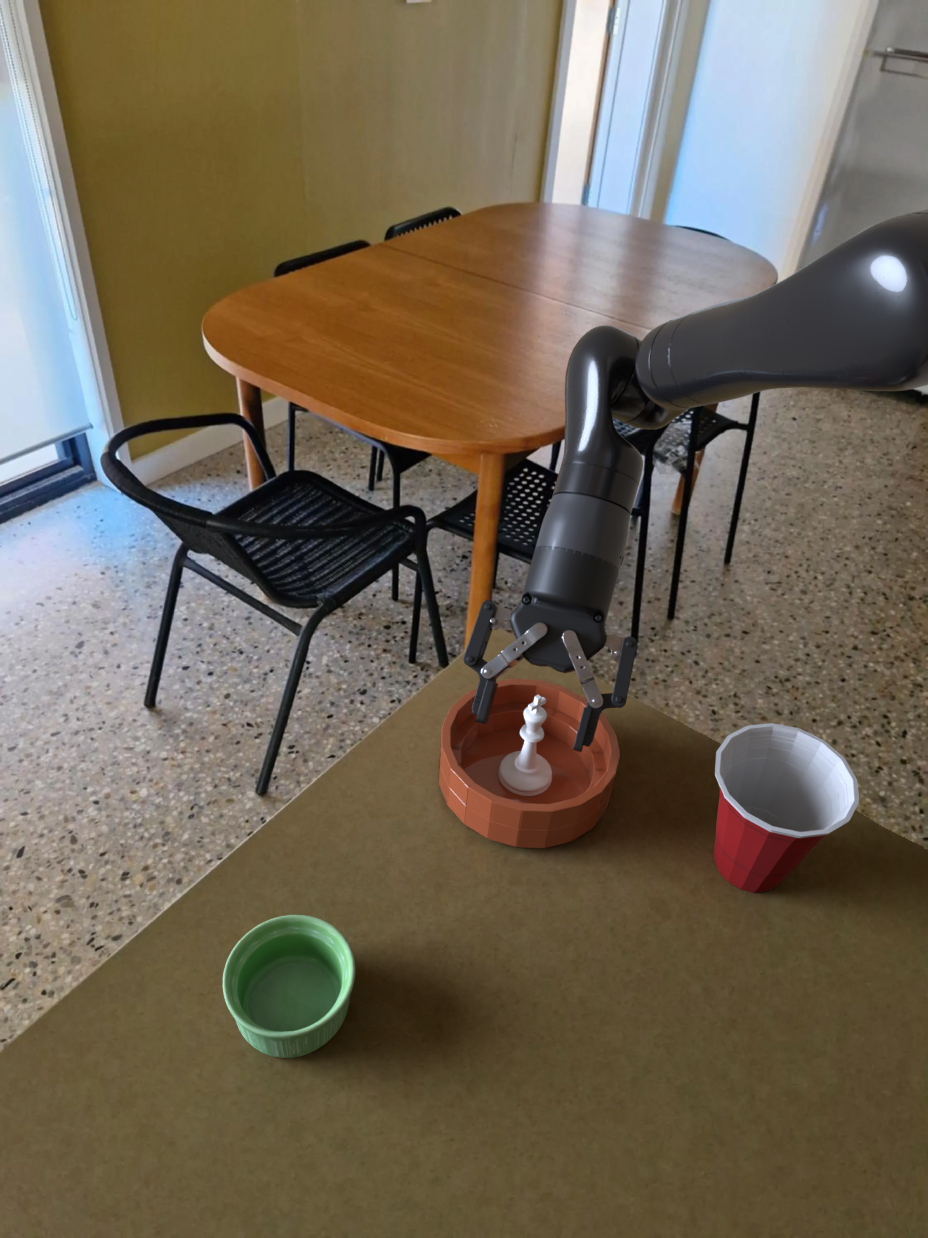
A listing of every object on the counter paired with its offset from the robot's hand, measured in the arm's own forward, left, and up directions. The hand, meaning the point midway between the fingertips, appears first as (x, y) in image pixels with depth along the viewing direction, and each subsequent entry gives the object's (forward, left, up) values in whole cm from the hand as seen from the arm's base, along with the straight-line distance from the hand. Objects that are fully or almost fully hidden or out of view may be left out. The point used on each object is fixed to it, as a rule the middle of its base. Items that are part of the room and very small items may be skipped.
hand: (528, 737), depth 76 cm
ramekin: (+2, +27, -7) cm, 28 cm away
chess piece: (0, -1, -7) cm, 7 cm away
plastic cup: (-20, -5, -7) cm, 22 cm away
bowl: (0, -1, -7) cm, 7 cm away
